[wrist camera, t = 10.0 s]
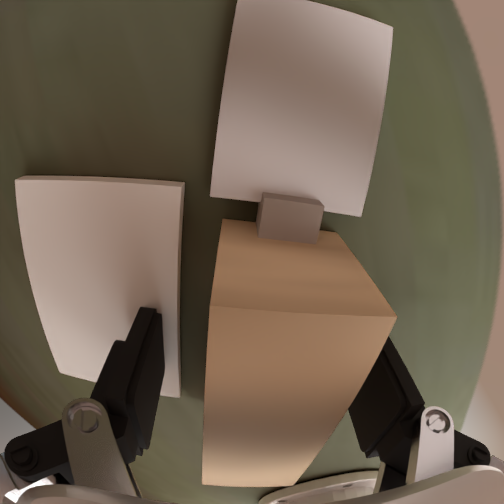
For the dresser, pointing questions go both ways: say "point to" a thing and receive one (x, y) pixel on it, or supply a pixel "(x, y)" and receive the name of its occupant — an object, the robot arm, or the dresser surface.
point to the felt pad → (102, 264)
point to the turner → (291, 238)
